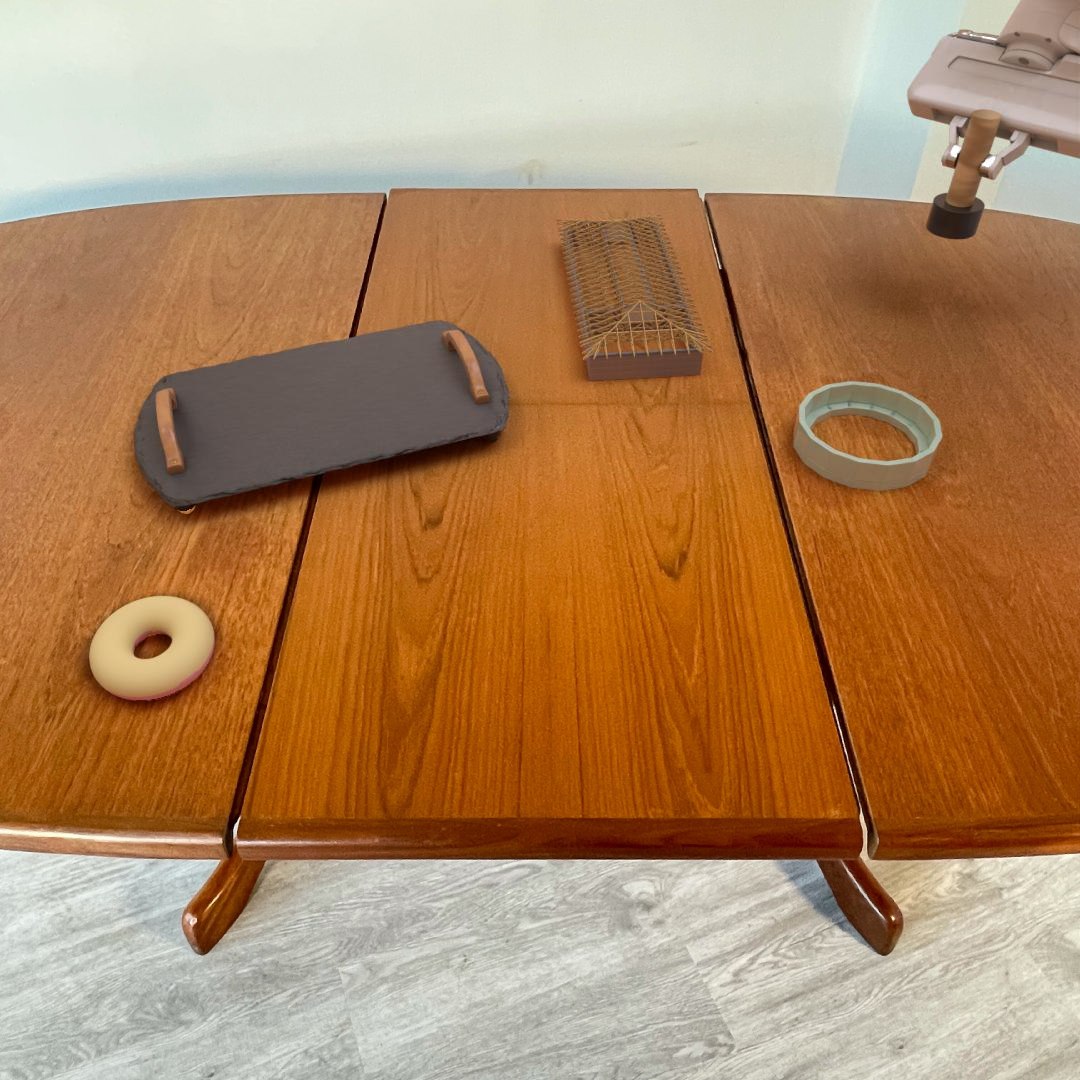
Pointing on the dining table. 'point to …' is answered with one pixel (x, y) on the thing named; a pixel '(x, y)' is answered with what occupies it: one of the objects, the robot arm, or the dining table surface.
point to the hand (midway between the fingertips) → (967, 170)
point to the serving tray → (316, 411)
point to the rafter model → (636, 314)
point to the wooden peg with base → (965, 181)
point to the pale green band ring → (875, 404)
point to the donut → (160, 673)
